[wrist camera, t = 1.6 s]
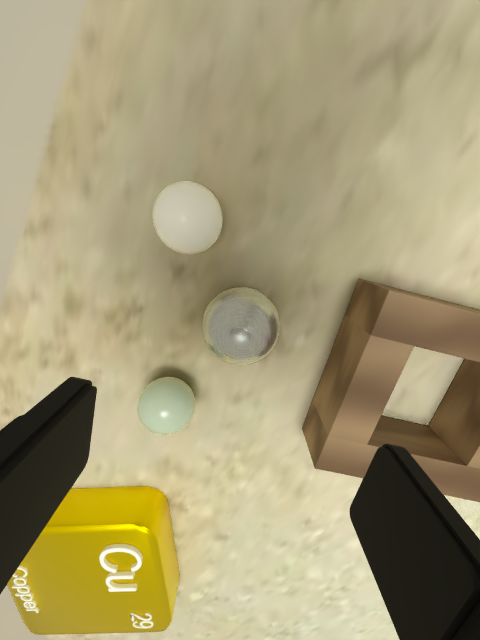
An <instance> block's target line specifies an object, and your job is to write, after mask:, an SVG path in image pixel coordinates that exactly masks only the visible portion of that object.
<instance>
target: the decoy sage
mask: <svg viewBox="0 0 480 640" xmlns="http://www.w3.org/2000/svg"><path fill="white" fill-rule="evenodd" d="M137 410H138V416H139V419H140V421H141V423H142V424H143V426H144V427H145V428H146V429H147V430H149V431H150V432H152V433H154V434H158V435H171V434H174V433H177V432H179V431H180V430H182V429H183V428H184V427H185V426H186V425H187V424H188V423H189V422H190V420H191V418H192V416H193V414H194V410H195V397H194V394H193V392H192V390H191V388H190V387H189V386H188V385H187V384H186V383H185V382H184V381H182V380H180V379H178V378H175V377H162V378H159V379H156V380H154V381H153V382H151V383H150V384H149V385H147V386H146V387H145V389H144V390H143V391H142V393H141V395H140V397H139V401H138V406H137Z"/></svg>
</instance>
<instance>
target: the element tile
mask: <svg viewBox="0 0 480 640" xmlns="http://www.w3.org/2000/svg"><path fill="white" fill-rule="evenodd" d="M179 577H180V573H179V567H178V560H177V554H176V548H175V542H174V535H173V529H172V523H171V516H170V510H169V504H168V500H167V498H166V496H165V495H164V494H163V492H161V491H160V490H158V489H156V488H152V487H147V486H136V487H105V488H74V489H70V490H69V492H68V493H67V495H66V496H65V498H64V499H63V501H62V502H61V504H60V505H59V507H58V508H57V510H56V511H55V513H54V514H53V516H52V517H51V519H50V520H49V522H48V523H47V525H46V526H45V528H44V529H43V531H42V532H41V534H40V535H39V537H38V538H37V540H36V541H35V543H34V544H33V546H32V547H31V549H30V550H29V552H28V553H27V555H26V556H25V558H24V559H23V561H22V562H21V564H20V565H19V567H18V568H17V570H16V571H15V573H14V574H13V576H12V577H11V579H10V580H9V582H8V583H7V586H8V588H9V590H10V592H11V595H12V597H13V599H14V602H15V603H16V606H17V608H18V611H19V613H20V615H21V617H22V620H23V622H24V624H25V625H26V626H27V627H28V629H29V630H30V631H31V632H32V633H34V634H39V635H49V634H91V633H133V632H160V631H164V630H165V629H166V628H167V627H168V626H169V625H170V623H171V621H172V617H173V611H174V606H175V600H176V594H177V589H178V583H179Z"/></svg>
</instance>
